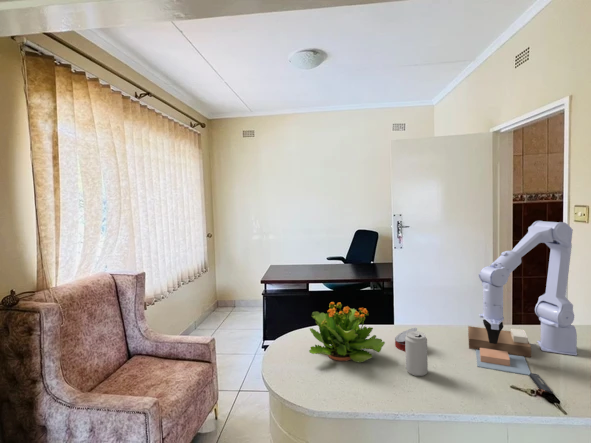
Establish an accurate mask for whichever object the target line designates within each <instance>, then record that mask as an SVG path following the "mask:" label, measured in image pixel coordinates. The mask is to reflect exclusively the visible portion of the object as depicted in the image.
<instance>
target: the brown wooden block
mask: <svg viewBox="0 0 591 443" xmlns="http://www.w3.org/2000/svg"><path fill="white" fill-rule="evenodd" d="M467 329H468V330H467V332H468V333H467V334H468V336H467V337H468V349H471V350H480V348H486V349H493V350H499V351H506V352H508V354H509V355H516V356H522V357H525V358H531V357H532V345H531V344H530V341H529V340H528V344H527V343H519V342H514V341H513V339H512V336H511V330H503V329H502V330H501V332H500V334H499V338H498V342H497V344H492V343H489V339H488V334H487V330H486V328H485V327H479V326H477V327H476V326H469V325H468V326H467Z"/></svg>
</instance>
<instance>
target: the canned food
mask: <svg viewBox="0 0 591 443" xmlns="http://www.w3.org/2000/svg"><path fill="white" fill-rule="evenodd" d="M410 331H418V327H413V328H412V327H411V328H409V329H406V330H405V331H402V332H400V333H398V335H396V337H394V340H395V342H394V344H395V348H396V349H398V350H400V351H402V352H405V337H406V333H407V332H410Z"/></svg>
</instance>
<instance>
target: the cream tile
mask: <svg viewBox="0 0 591 443" xmlns="http://www.w3.org/2000/svg"><path fill="white" fill-rule="evenodd" d="M510 331H511V336H512V339H513V341H514V342H519V343H527V344H528V341H529V337H528V335H527V333H526V331H525V330H524V329H520V328H519V329H518V328H510Z"/></svg>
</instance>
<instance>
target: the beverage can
mask: <svg viewBox="0 0 591 443" xmlns="http://www.w3.org/2000/svg"><path fill="white" fill-rule="evenodd" d="M404 352H405V370H406V371H407V372H408V373H409V374H410V375H412V376H415V377H423V376H425V375H426V374H428V370H429V369H428V368H429V366H428V365H429V364H428V363H429V362H428V359H429V358H428V339H427V336H426V334H425V332H421V331H418V330H417V331H410V332H407V333H406V337H405V351H404Z"/></svg>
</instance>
